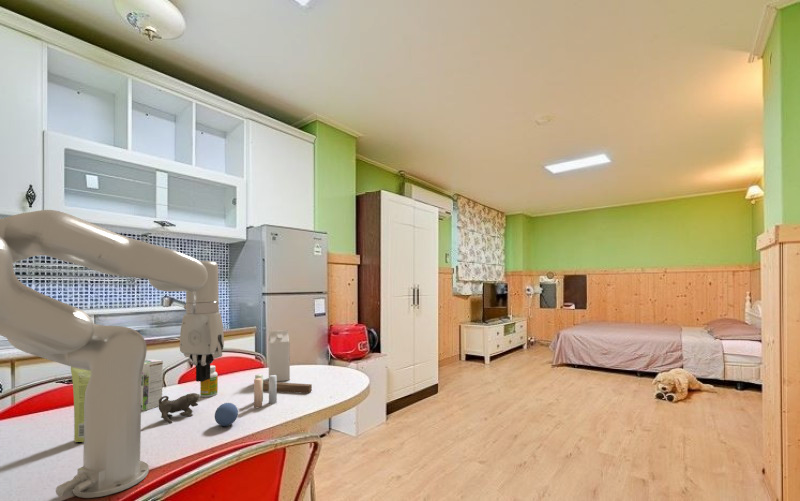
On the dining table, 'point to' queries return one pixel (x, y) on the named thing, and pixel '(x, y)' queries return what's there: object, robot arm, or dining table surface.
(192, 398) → the dog figurine
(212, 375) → the supplement bottle
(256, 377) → the back pin left
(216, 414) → the ball
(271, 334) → the milk carton
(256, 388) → the front pin
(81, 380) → the tube
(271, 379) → the back pin right
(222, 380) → the dining table surface
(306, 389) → the brown bar
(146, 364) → the syrup box
